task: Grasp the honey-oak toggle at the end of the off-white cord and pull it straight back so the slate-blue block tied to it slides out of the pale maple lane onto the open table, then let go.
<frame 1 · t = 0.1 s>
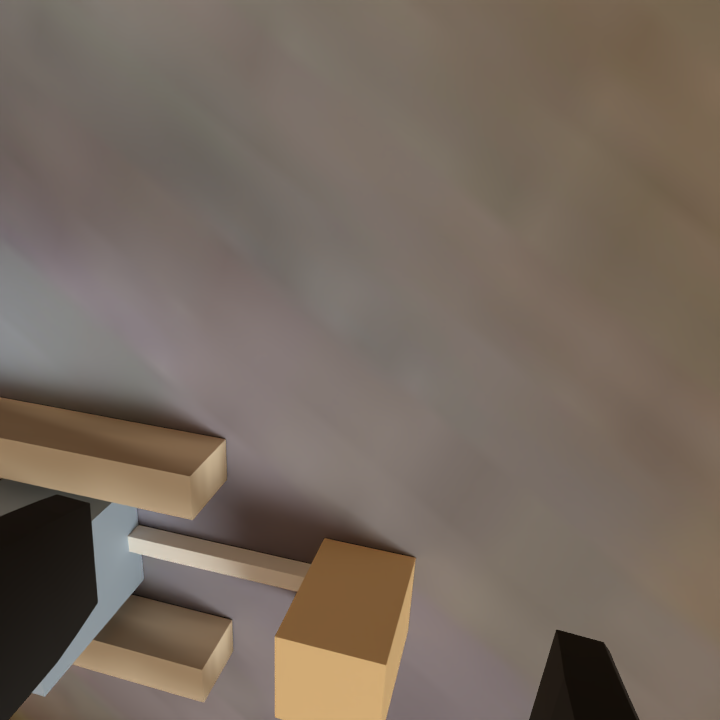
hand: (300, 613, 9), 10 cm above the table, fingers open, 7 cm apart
tethered block: (87, 520, 24), on the table
lane: (110, 526, 24), on the table
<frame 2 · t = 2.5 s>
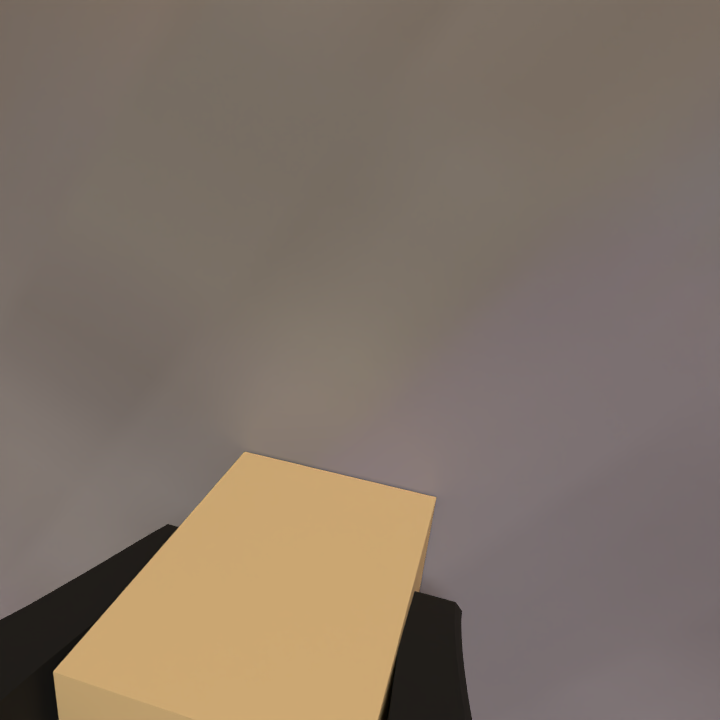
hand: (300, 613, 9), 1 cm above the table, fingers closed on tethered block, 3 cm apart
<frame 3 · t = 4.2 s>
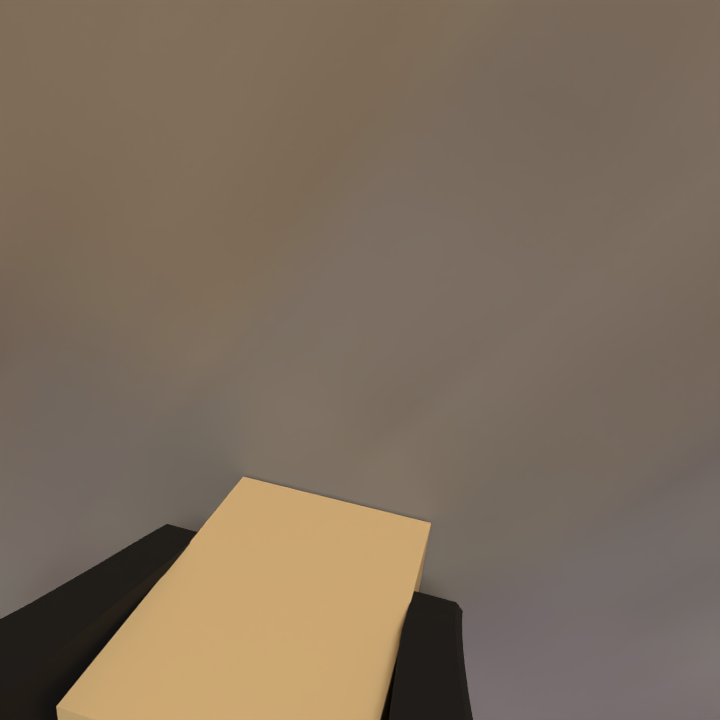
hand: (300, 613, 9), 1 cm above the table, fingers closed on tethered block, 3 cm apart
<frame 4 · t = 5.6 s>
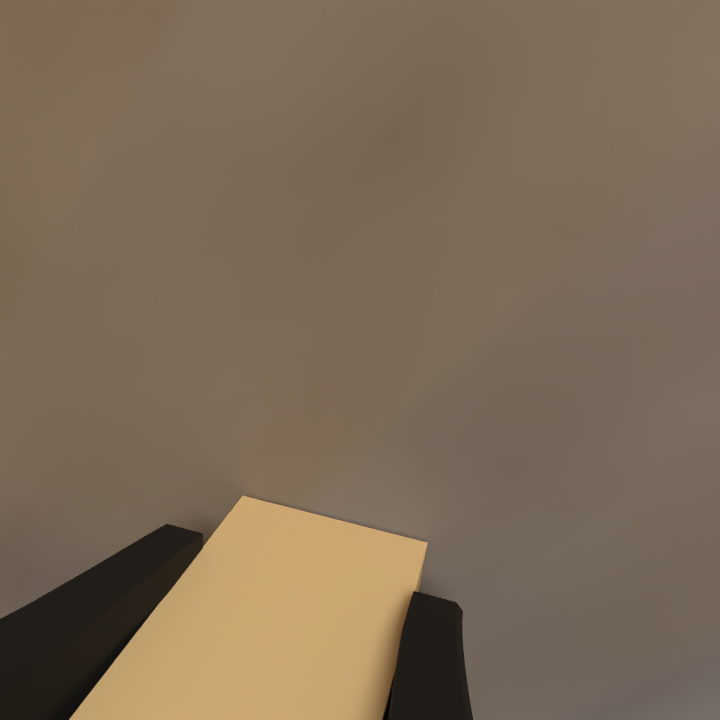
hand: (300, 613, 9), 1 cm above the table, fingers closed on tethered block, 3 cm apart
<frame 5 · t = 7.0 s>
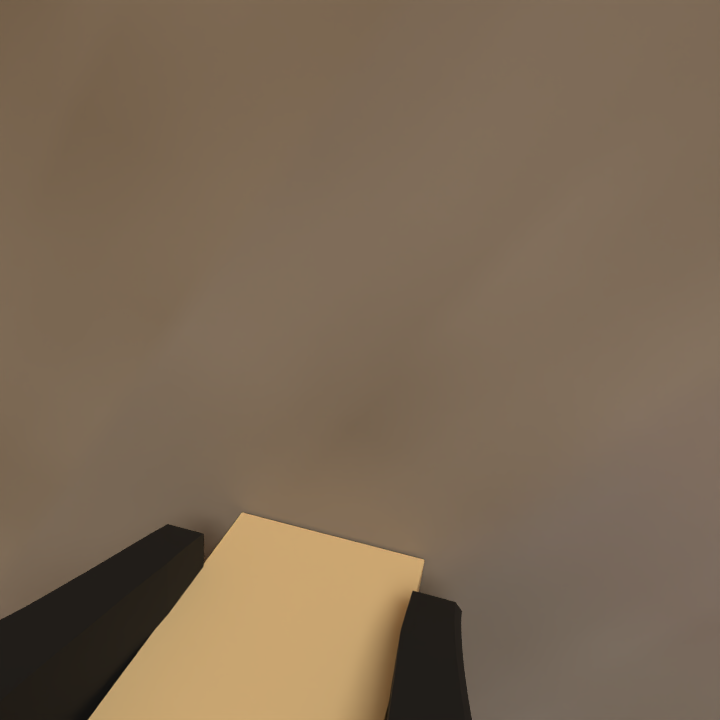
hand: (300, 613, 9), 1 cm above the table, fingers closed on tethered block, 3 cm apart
when the fingers open (1 cm above the table, at t = 7.7 s): tethered block stays where it is, on the table.
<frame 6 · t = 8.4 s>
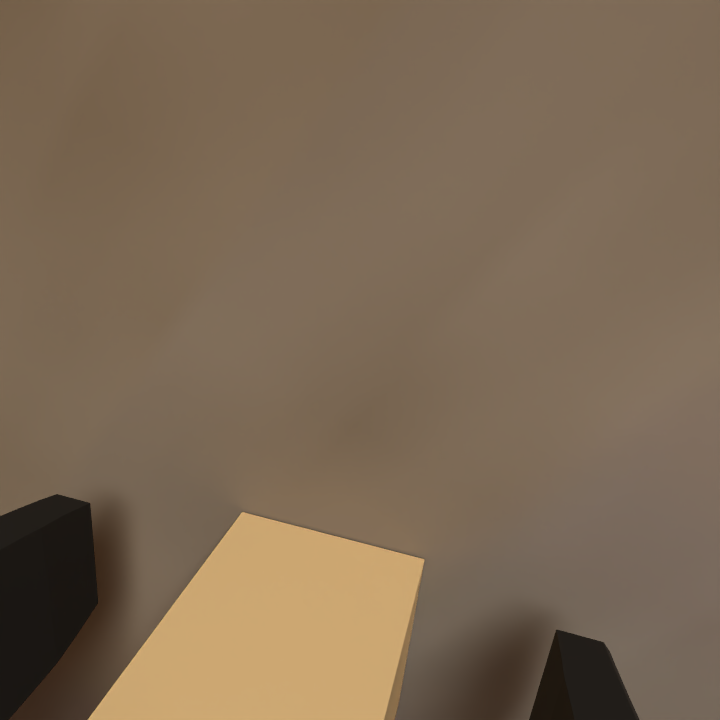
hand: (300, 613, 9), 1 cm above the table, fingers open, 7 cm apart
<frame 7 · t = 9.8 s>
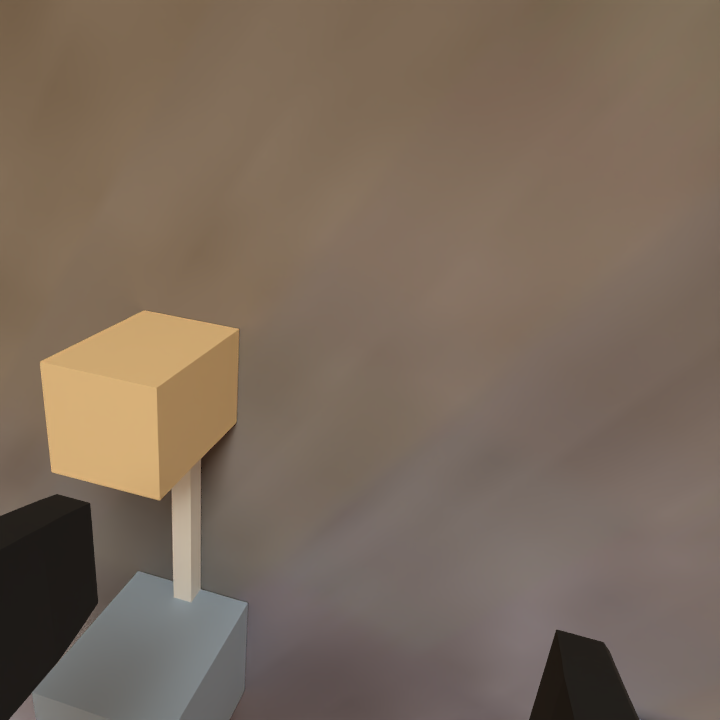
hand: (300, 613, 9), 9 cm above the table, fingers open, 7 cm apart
tethered block: (192, 631, 24), on the table
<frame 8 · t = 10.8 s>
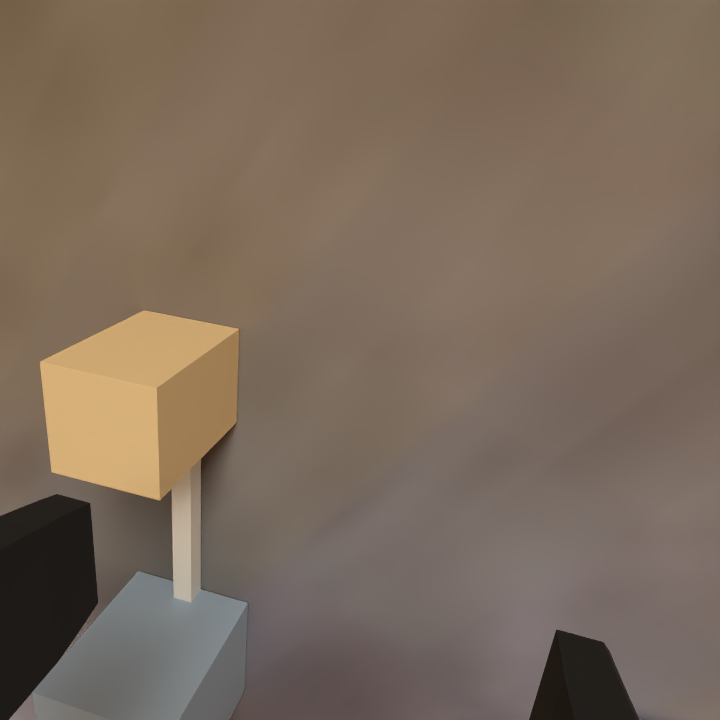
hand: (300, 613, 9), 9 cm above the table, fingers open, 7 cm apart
tethered block: (192, 631, 24), on the table
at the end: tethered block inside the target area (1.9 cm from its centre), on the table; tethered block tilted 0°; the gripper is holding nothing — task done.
